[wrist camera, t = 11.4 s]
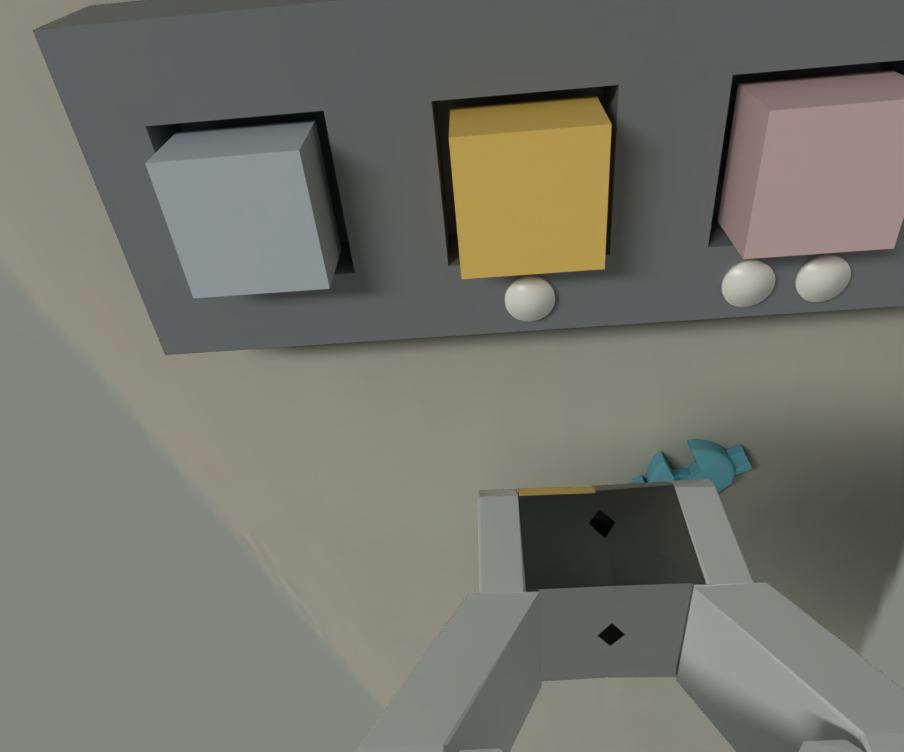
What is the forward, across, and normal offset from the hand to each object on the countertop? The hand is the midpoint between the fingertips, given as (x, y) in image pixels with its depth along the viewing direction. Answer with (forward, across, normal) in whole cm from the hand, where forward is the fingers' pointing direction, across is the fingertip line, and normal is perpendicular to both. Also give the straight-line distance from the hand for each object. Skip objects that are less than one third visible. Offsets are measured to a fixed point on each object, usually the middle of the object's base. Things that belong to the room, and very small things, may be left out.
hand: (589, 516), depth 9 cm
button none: (+12, +7, 0) cm, 14 cm away
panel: (+14, 0, 0) cm, 14 cm away
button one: (+12, 0, 0) cm, 12 cm away
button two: (+12, -7, 0) cm, 13 cm away
